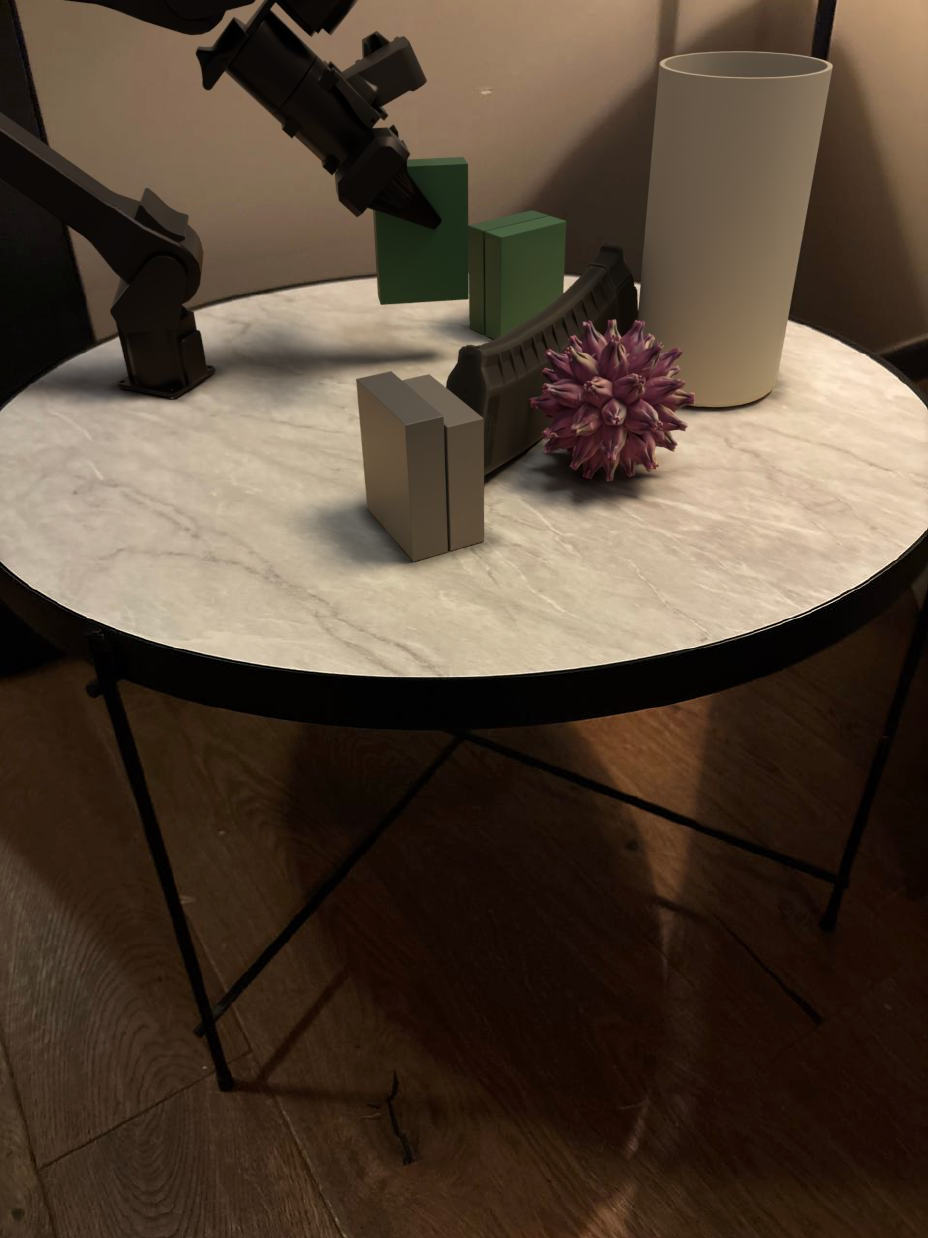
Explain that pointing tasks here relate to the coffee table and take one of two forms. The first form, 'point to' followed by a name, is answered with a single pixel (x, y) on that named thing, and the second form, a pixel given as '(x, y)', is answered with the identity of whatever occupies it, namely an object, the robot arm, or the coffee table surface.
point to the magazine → (539, 355)
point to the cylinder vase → (729, 214)
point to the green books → (514, 270)
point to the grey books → (422, 463)
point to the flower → (612, 400)
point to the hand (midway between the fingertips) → (435, 220)
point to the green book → (427, 239)
